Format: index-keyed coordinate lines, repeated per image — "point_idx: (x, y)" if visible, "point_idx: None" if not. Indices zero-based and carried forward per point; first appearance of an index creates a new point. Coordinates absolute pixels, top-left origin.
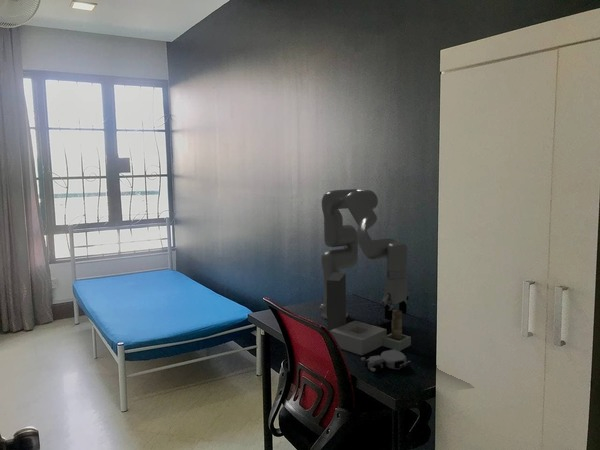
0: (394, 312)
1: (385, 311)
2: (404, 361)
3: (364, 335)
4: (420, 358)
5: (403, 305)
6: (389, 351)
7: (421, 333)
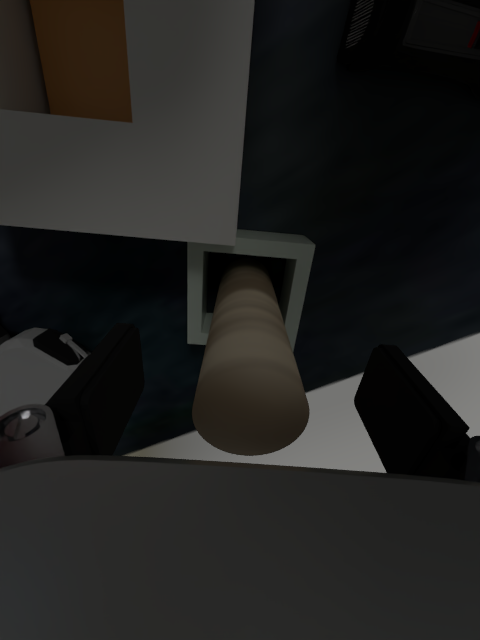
0: (200, 414)
1: (51, 398)
2: None
3: (7, 175)
4: (187, 404)
5: (400, 461)
6: (44, 369)
7: (462, 302)
